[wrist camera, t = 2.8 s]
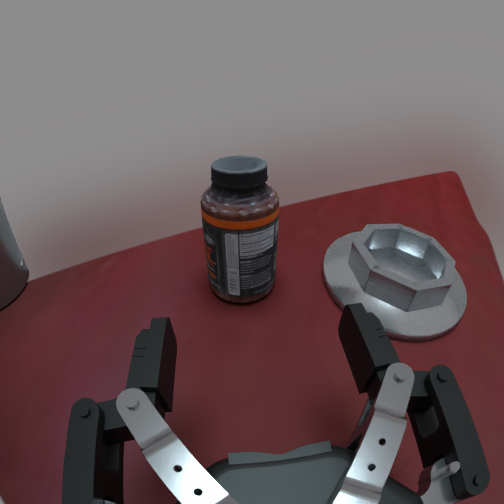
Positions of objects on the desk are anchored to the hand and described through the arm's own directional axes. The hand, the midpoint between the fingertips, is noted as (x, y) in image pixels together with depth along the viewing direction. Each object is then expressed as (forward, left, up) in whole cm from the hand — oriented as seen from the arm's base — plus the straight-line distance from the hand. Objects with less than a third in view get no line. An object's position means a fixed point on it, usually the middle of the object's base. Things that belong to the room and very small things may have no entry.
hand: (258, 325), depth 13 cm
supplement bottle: (+8, +8, -8) cm, 14 cm away
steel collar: (+18, -4, -7) cm, 20 cm away
